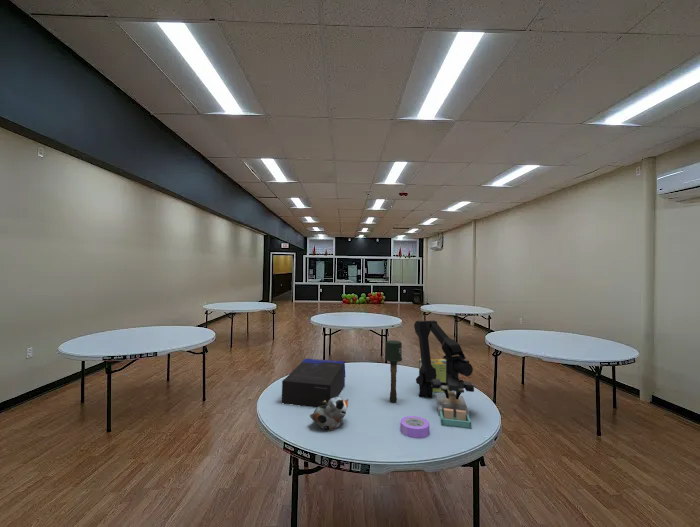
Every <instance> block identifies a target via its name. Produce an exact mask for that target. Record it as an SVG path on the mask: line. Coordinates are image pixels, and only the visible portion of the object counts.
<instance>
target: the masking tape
mask: <svg viewBox="0 0 700 527" xmlns="http://www.w3.org/2000/svg"><path fill="white" fill-rule="evenodd" d="M399 421H400V422H399V424H400V432H401V434H402V435H404V436H406V437H407V438H408V437H409V438H411V439H412V438H413V439H424V438H427V437H428V436H429V435H430V422H429V420H427V418H424V417H421V416H417V415H409V416H408V415H407V416H404V417H402V418H400V420H399Z"/></svg>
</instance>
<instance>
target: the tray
mask: <svg viewBox="0 0 700 527" xmlns="http://www.w3.org/2000/svg"><path fill="white" fill-rule="evenodd" d="M439 418H440V424H441V426H444V427H451V428H453V427H454V428H460V429H461V428H463V429H471V430H472V420H471V419H470V418H471V417H470V414H469V415H468V413H466V421H461V420H456V417H453V420H452V419H444V416H443V415H442V411H440V416H439Z"/></svg>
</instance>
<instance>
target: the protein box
mask: <svg viewBox="0 0 700 527" xmlns="http://www.w3.org/2000/svg"><path fill="white" fill-rule="evenodd" d="M421 365H422V362H421V358H419V359H418V371H419V370H420V368H421ZM431 365H432V366H433V368H435V369H436V375H437V376H436V379H440V382H446V359H444V358H441V359H439V358H431ZM431 385H432V384H431ZM447 389H448V387H447ZM448 391H449V390H448ZM433 393H444V391H442V390H441V387H440V388H439V389H437V388H433Z"/></svg>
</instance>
